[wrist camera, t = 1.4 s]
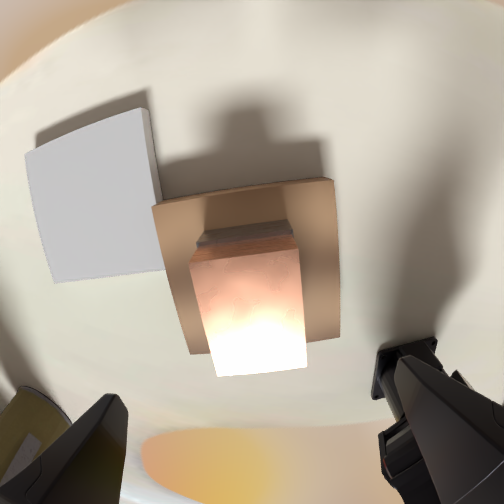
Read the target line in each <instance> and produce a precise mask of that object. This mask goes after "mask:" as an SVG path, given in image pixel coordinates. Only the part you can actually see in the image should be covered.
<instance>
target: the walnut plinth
mask: <svg viewBox="0 0 504 504" xmlns="http://www.w3.org/2000/svg"><path fill="white" fill-rule="evenodd" d="M151 209H152V213H153V218H154V223H155V227H156V232H157V236H158V241H159V245H160V249H161V253H162V257H163V262H164V266H165V269H166V273H167V277H168V281H169V285H170V288H171V292H172V296H173V299H174V303H175V306H176V310H177V313H178V317H179V320H180V323H181V327H182V330H183V333H184V336H185V340H186V343H187V346H188V349H189V352H190V355H191V354H208V353H211V351H210V347H209V344H208V340H207V336H206V333H205V329H204V325H203V322H202V318H201V314H200V310H199V306H198V302H197V298H196V294H195V290H194V286H193V282H192V277H191V273H190V269H189V264H188V263H189V261H190V259H191V258H192V256H193V254H194V253H195V251H196V249H197V246H196V242H197V240H198V239H199V237H200V236H201V234H202V233H203V231H205V230H212V229H219V228H226V227H233V226H240V225H247V224H254V223H261V222H269V221H276V220H284V219H288V221H289V223H290V225H291V227H292V229H293V235H294V240H295V242H296V245H297V247H298V251H299V261H300V272H301V284H302V296H303V310H304V324H305V341H306V343H308V342H314V341H320V340H326V339H332V338H338V337H340V268H339V245H338V227H337V213H336V201H335V189H334V180H332V179H329V178H325V177H319V178H309V179H300V180H291V181H283V182H275V183H267V184H260V185H252V186H245V187H239V188H232V189H225V190H219V191H213V192H207V193H201V194H195V195H190V196H184V197H178V198H173V199H168V200H163V201H161V202H159V203H157V204H155V205H153V206H151Z"/></svg>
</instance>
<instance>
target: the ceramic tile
mask: <svg viewBox="0 0 504 504" xmlns="http://www.w3.org/2000/svg"><path fill="white" fill-rule="evenodd" d="M25 162H26V170H27V176H28V183H29V189H30V194H31V199H32V204H33V209H34V214H35V218H36V222H37V227H38V231H39V234H40V238H41V242H42V246H43V249H44V252H45V256H46V259H47V262H48V266H49V269H50V272H51V275H52V278H53V281H54V283H63V282H71V281H79V280H88V279H96V278H104V277H112V276H120V275H128V274H136V273H144V272H152V271H160V270H166V269H165V266H164V262H163V257H162V253H161V249H160V245H159V241H158V236H157V232H156V227H155V223H154V218H153V213H152V209H151V206H153V205H155V204H157V203H159V202H161V201H163V197H162V191H161V186H160V180H159V175H158V169H157V163H156V157H155V150H154V144H153V137H152V130H151V123H150V115H149V110H147V109H144V108H142V107H140V108H136V109H133V110H130V111H127V112H124V113H121V114H118V115H115V116H112V117H109V118H106V119H103V120H100V121H98V122H95V123H92V124H90V125H87V126H85V127H82V128H80V129H77V130H75V131H72V132H70V133H68V134H65V135H63V136H61V137H59V138H56V139H54V140H52V141H50V142H48V143H45V144H43V145H41V146H39V147H37V148H35V149H33V150H31V151H29V152H27V153H25Z"/></svg>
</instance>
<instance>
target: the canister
mask: <svg viewBox="0 0 504 504" xmlns="http://www.w3.org/2000/svg"><path fill="white" fill-rule="evenodd" d="M71 425H72V423H71V421H70V420H69V419H68V417H67V416H66V415H65V414H64V413H63V411H62V410H61V409H60V408H59V407H58V406H57V405H55V404H54V403H53V402H52V401H51V400H49V399H48V398H47V397H46V396H44V395H43V394H41V393H40V392H38V391H36V390H35V389H32V388H29V387H26V386H22V387H20V388H19V389H18V390H17V394H16V395H15V396H14V398H13V399H12V400H11V402H10V403H9V404H8V406H7V407H6V408H5V410H4V411H3V412H2V414H1V415H0V486H2V485H3V484H4V483H6V482H7V481H9V480H10V479H11V478H13V477H14V476H15V475H17V474H18V473H19V472H21V471H22V470H23V469H24V468H26V467H27V466H28V465H29V464H30V463H31V462H32V461H34V460H35V459H36V458H37V457H38V456H39V455H41V453H42V452H43V451H44V450H46V449H47V448H48V447H49V446H50V445H51V444H52V443H53V442H54V441H55V440H56V439H57V438H58V437H60V436H61V435H62V434H63V433H64V432H65V431H66V430H67V429H68V428H69V427H70V426H71Z"/></svg>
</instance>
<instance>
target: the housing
mask: <svg viewBox="0 0 504 504" xmlns="http://www.w3.org/2000/svg"><path fill="white" fill-rule="evenodd" d="M196 246H197V249H196V251H195V253H194V254H193V256H192V258H191V259H190V261H189V263H188V264H189V269H190V273H191V277H192V282H193V286H194V290H195V294H196V298H197V302H198V306H199V310H200V314H201V318H202V322H203V325H204V329H205V333H206V336H207V340H208V344H209V347H210V351H211V354H212V358H213V361H214V365H215V368H216V372H217V375H218V376H224V375H238V374H249V373H260V372H269V371H277V370H285V369H293V368H300V367H306V366H307V359H306V341H305V324H304V310H303V296H302V284H301V272H300V261H299V251H298V247H297V245H296V242H295V240H294V235H293V229H292V227H291V225H290V223H289V221H288V219H284V220H276V221H269V222H261V223H254V224H247V225H240V226H233V227H226V228H219V229H212V230H205V231H203V233H202V234H201V236H200V237H199V239H198V240H197V242H196Z"/></svg>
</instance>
